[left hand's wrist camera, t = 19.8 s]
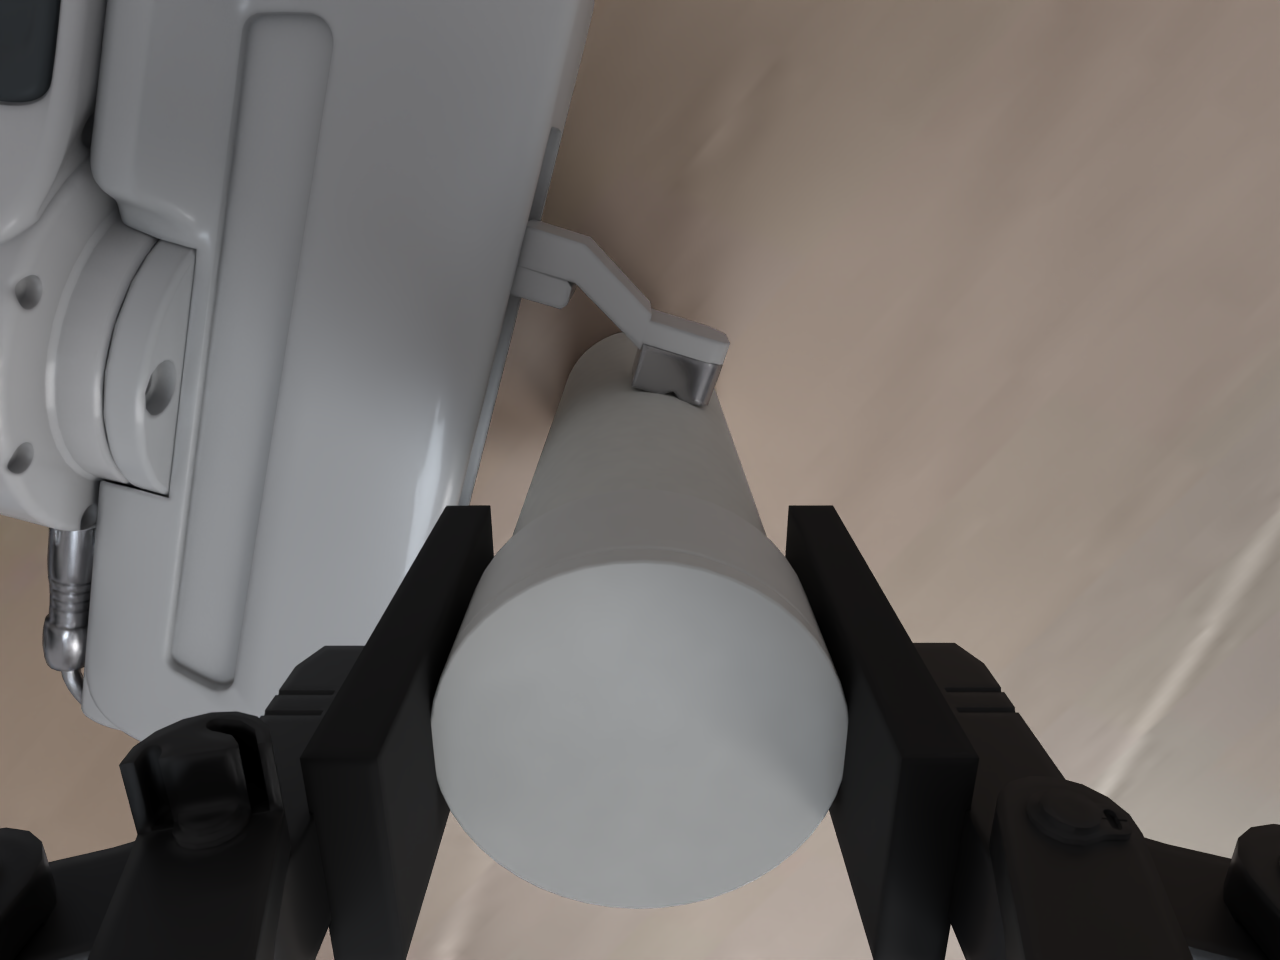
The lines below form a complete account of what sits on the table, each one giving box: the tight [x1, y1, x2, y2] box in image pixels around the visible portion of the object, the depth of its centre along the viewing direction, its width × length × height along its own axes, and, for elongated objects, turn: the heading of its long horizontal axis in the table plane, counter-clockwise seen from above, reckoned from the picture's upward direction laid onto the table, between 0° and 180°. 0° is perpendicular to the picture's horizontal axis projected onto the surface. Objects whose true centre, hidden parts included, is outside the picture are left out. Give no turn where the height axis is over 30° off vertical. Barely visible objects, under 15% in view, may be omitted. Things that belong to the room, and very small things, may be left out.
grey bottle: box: [512, 332, 767, 537], centre depth 18 cm, size 5×5×16 cm
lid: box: [431, 489, 848, 909], centre depth 11 cm, size 5×5×2 cm
